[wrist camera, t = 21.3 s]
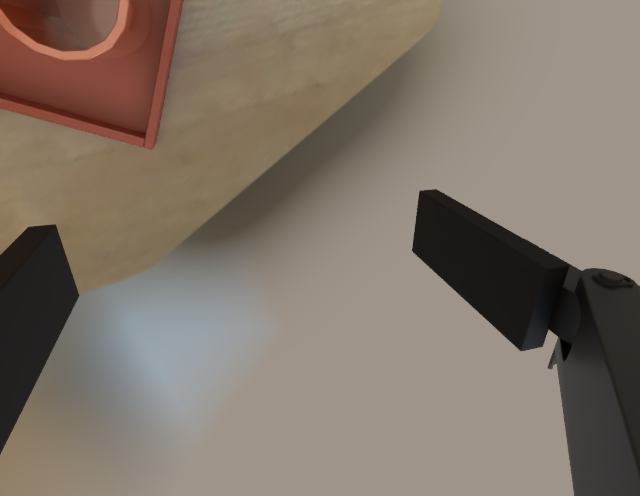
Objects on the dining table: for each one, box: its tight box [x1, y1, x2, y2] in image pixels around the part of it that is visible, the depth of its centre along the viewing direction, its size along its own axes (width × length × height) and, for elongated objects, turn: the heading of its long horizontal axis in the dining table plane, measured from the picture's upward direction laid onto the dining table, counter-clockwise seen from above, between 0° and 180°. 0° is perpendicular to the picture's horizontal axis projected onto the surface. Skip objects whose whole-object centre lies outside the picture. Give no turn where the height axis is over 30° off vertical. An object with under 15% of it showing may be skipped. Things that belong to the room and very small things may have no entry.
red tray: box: [0, 0, 183, 149], centre depth 30 cm, size 17×15×3 cm
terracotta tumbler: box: [0, 0, 151, 61], centre depth 25 cm, size 7×7×12 cm
